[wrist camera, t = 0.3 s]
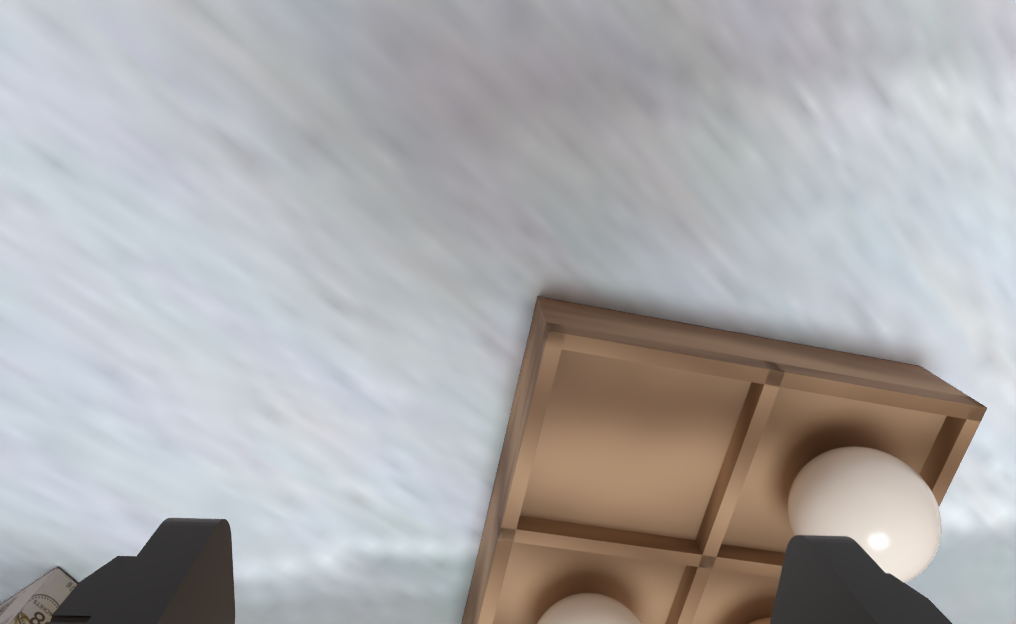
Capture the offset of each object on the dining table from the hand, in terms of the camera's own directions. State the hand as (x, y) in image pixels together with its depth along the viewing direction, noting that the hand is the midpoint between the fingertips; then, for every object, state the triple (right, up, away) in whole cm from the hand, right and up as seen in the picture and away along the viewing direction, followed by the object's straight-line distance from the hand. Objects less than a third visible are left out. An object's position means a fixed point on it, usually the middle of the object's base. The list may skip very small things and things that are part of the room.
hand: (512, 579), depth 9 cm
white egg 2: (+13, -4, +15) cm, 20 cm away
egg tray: (+8, -5, +21) cm, 23 cm away
